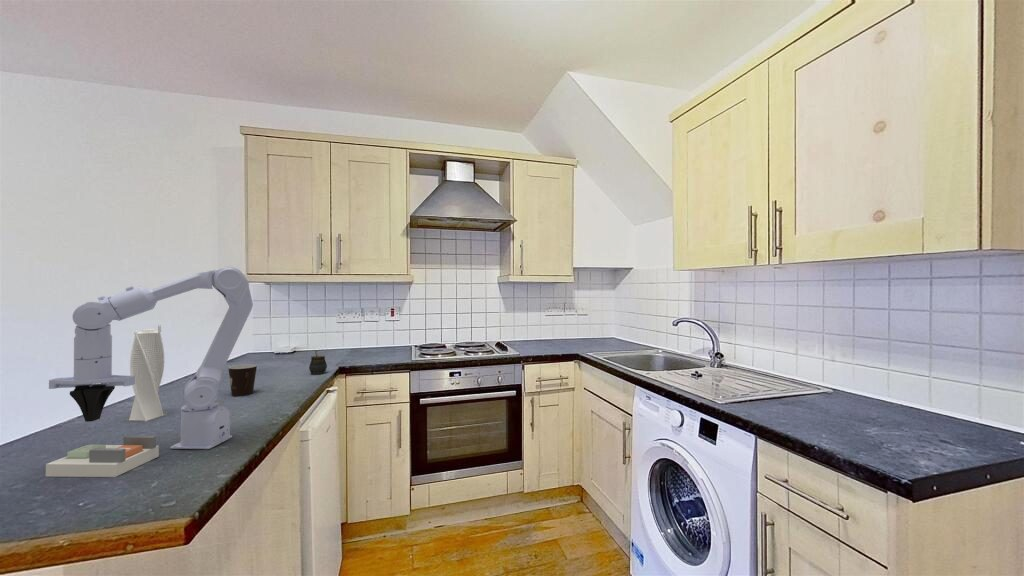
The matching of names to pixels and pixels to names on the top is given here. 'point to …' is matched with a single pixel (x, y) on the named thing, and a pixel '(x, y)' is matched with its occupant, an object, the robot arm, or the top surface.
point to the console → (105, 460)
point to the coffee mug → (242, 379)
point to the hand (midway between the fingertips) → (92, 420)
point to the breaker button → (131, 450)
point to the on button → (82, 452)
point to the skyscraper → (147, 374)
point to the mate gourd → (318, 364)
